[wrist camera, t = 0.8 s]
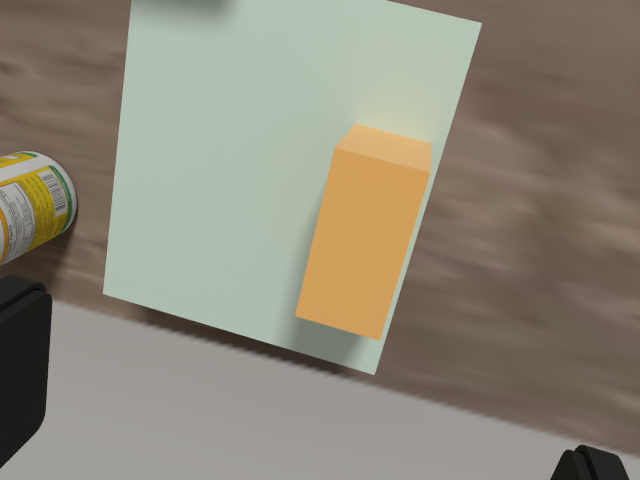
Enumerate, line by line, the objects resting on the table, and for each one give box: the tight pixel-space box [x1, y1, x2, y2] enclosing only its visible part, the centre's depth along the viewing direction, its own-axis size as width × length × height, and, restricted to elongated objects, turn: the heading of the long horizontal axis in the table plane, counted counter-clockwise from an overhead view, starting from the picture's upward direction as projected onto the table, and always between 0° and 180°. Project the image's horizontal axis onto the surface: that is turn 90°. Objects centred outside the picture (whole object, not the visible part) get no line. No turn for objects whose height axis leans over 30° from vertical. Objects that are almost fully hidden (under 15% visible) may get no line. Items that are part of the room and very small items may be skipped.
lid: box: [103, 0, 482, 375], centre depth 23 cm, size 13×15×7 cm
